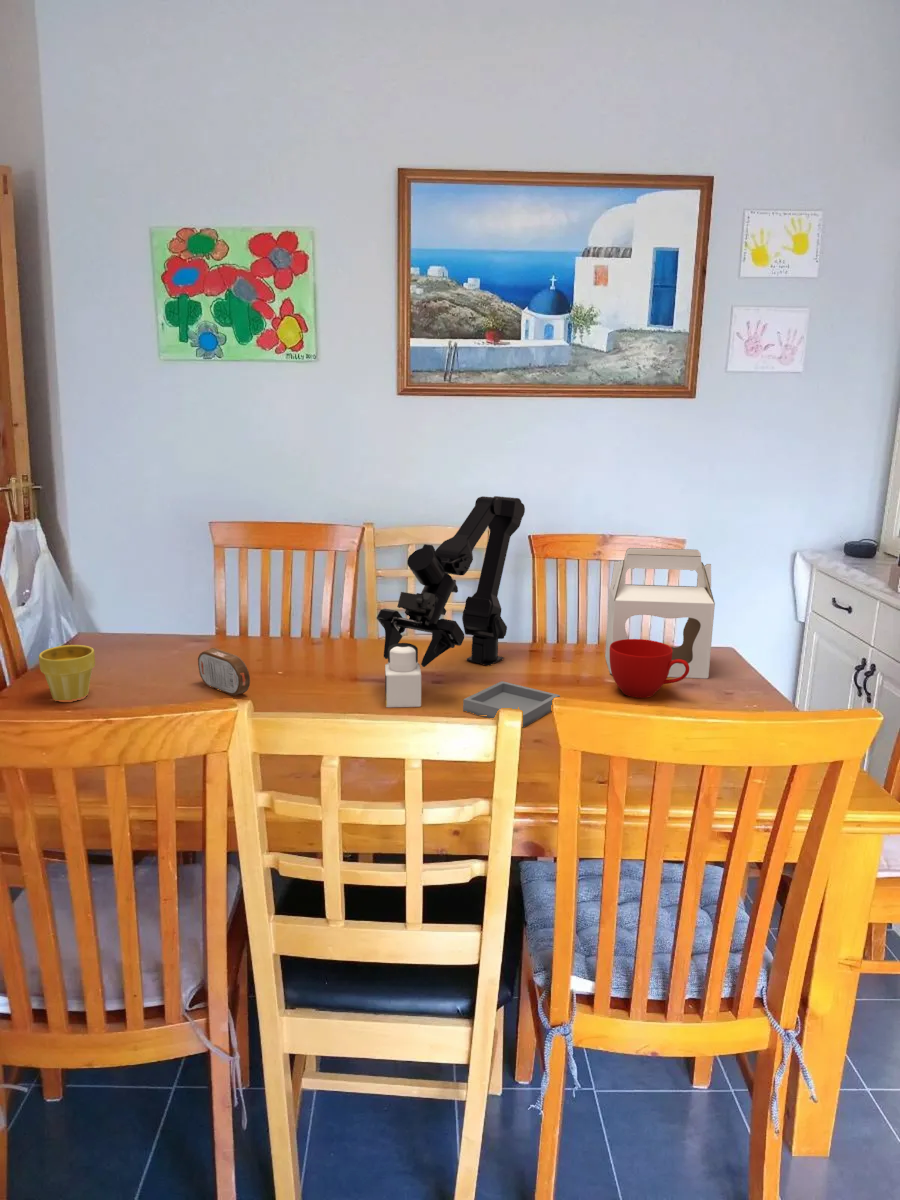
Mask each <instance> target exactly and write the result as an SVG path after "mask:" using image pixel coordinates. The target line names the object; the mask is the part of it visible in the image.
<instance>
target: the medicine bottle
mask: <svg viewBox="0 0 900 1200" xmlns="http://www.w3.org/2000/svg"><path fill="white" fill-rule="evenodd" d="M418 654H419V649H418V647H417V646H416V645H415V644H412V643H409V642H399V643H396V644H393V645H391V646H390V647H389V648H388V659H387V663H385V665H384V676H385V677H384V680H385V681H384V683H385V684H384V689H385V690H384V692H385V693H384V695H385V707H386V708H420V707H421V706H422V670H421V663H419V662H418V661H419V660H418V657H419V655H418Z"/></svg>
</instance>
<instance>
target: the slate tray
mask: <svg viewBox="0 0 900 1200" xmlns="http://www.w3.org/2000/svg"><path fill="white" fill-rule="evenodd" d="M555 697H560V698H561V695H560V694H557V693H553V692H548V691H544V690H541V689H536V688H533V687H532V688H531V687H528V686H525V685H524V686H523V685H520V684H514V683H511V682H507V681H503V680H501V681H499V682H497V683H495V684H493V685H490V686H488V687H487V688H484V689H482V690H480V691H477V692H476V693H473V694H472V695H470V696H467V697H465V698H464V699H462V701H463V703H462V704H463V705H462V706H463V707H462V712H464V711H467V712H466V713H468V712H471V713H474V714H473V715H475V714H476V715H475V716H479V715H487V716H481V717H482V718H486V717H487V718H486V719H490V718H494V717H495V715H496V713H497V711H498V710H499V709H501V708H512V709H518V707H519V709H520V710H522V711H523V727H522V728H526V727H528V725H531V724H532V723H534V722H536V721H538V720H539V719H541V718H542V717H545V716H546V715H548V714H550V713H551V712H552V711H551V705H552V700H553V698H555ZM471 713H470V714H471Z"/></svg>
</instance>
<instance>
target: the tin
mask: <svg viewBox="0 0 900 1200" xmlns="http://www.w3.org/2000/svg"><path fill="white" fill-rule="evenodd" d="M197 664H198V671H199V676H200V678H201V679H202V681H203V683H204V684H205V685H206V686H208V687H209V686H211V687H213V688H212V689H214V688H216V689H219V690H221V691H223V692H222V693H224V692H226V693H228V694H227V695H229V696H232V695H233V697H235V696H238V695H240V694H244V693H246V692H248V690H249V688H250V684H251V678H250V677H251V675H250V672H249V669H248V667H247V664H246V663H245V661H243V659H242V658H241V657H240V656H238V655H236V654H233V653H230V652H227V651H225V650H221V649H220V648H216V647H212V648H209V649H206V650H204V651H202V652H200V654H199V655H198V657H197ZM211 687H210V688H211ZM216 689H215V690H216ZM219 690H218V691H219ZM221 691H220V692H221ZM226 693H225V694H226Z"/></svg>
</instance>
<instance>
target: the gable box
mask: <svg viewBox="0 0 900 1200" xmlns="http://www.w3.org/2000/svg"><path fill="white" fill-rule="evenodd" d="M629 569H631V570H634V569H645V570H646V569H647V570H649V569H651V570H654V569H655V570H678V571H679V570H681V571H682V570H684V571H685V570H686V571H695V572H696V574H697V576H696V577H697V578H696V586H688V585H658V584H657V585H655V584H652V585H651V584H626V578H627V572H628V571H629ZM610 581H611V582H610V585H609V587H608V602H607V603H608V605H607V620H606V621H607V622H606V636H605V637H606V638H605V661H606V665H607V669H608V672H609V675H611V676H612V672H611V668H610V645H611V644H612V643H613V642H615V641H619V640H625V639H629V637H628V633H627V631H626V622H627V620H628V619H630V618H631V617H634V616H653V617H656V618H657V617H658V618H663V619H671V620H672V619H681V618H682V619H683V618H686V619H687V620H686V623H685V625H684V627H683V631H682V636H683V637H682V643H681V645H679V646H677V647H675V646H670V647H671V648H672V650H673V652H672V660H675V659H682V660H685V661H686V662H687V663H688V664H689V673H688V675H687V676H686V677H685V678H684V679H703V680H704V679H705V680H706V679H707V680H708V678H709V675H710V663H711V651H712V641H713V631H714V628H713V627H714V617H715V606H716V602H715V599H714V595H713V592H712V589H711V588H712V564H711V563H706V564H704V562H703V561H702V556H701V552H700V551H699V550H698V549H689V548H688V549H687V548H686V549H685V548H681V549H680V548H652V547H651V548H648V547H646V548H645V547H644V548H643V547H628V548H627V549H626V551H625V554H624V559H622V560H621V562H620V561H618V560H616V561H614V562H613V570H612V575H611V580H610ZM672 660H671V661H672ZM685 670H686V669H685V666H684V665H683V664H682V663H675V664H673V665H672V666H671V668H670V670H669V674H668V677H667V678H679V677H681V676H682V675H683V674H684V673H685Z"/></svg>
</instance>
